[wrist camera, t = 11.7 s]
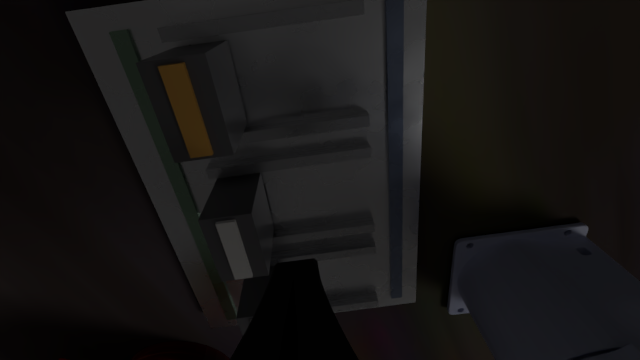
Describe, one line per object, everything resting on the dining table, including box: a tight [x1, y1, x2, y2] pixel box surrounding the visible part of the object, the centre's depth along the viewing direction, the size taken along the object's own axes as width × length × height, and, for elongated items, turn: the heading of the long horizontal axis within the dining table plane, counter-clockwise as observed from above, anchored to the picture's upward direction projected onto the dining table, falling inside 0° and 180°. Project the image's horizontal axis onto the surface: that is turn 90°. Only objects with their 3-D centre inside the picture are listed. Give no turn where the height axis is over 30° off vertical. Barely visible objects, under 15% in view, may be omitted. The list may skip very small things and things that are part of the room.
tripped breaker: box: [136, 40, 248, 163], centre depth 14 cm, size 2×4×4 cm, turn 7°
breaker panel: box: [65, 0, 427, 329], centre depth 20 cm, size 16×22×2 cm
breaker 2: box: [236, 267, 274, 335], centre depth 21 cm, size 2×4×4 cm, turn 7°
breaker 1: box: [198, 173, 274, 281], centre depth 17 cm, size 2×4×4 cm, turn 7°
